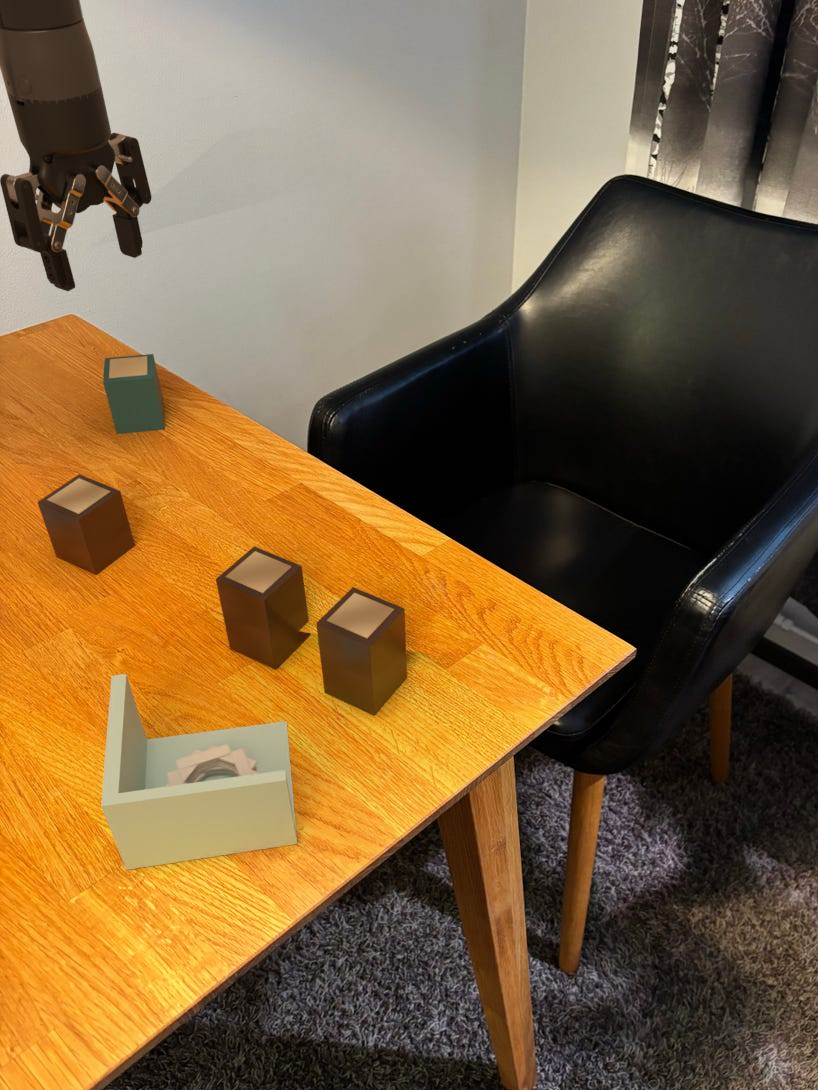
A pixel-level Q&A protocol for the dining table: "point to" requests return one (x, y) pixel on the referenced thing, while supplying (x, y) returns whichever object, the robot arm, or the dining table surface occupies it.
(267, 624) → the walnut block
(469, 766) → the dining table surface
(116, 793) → the l-shaped corner panel
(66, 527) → the walnut block
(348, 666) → the walnut block
